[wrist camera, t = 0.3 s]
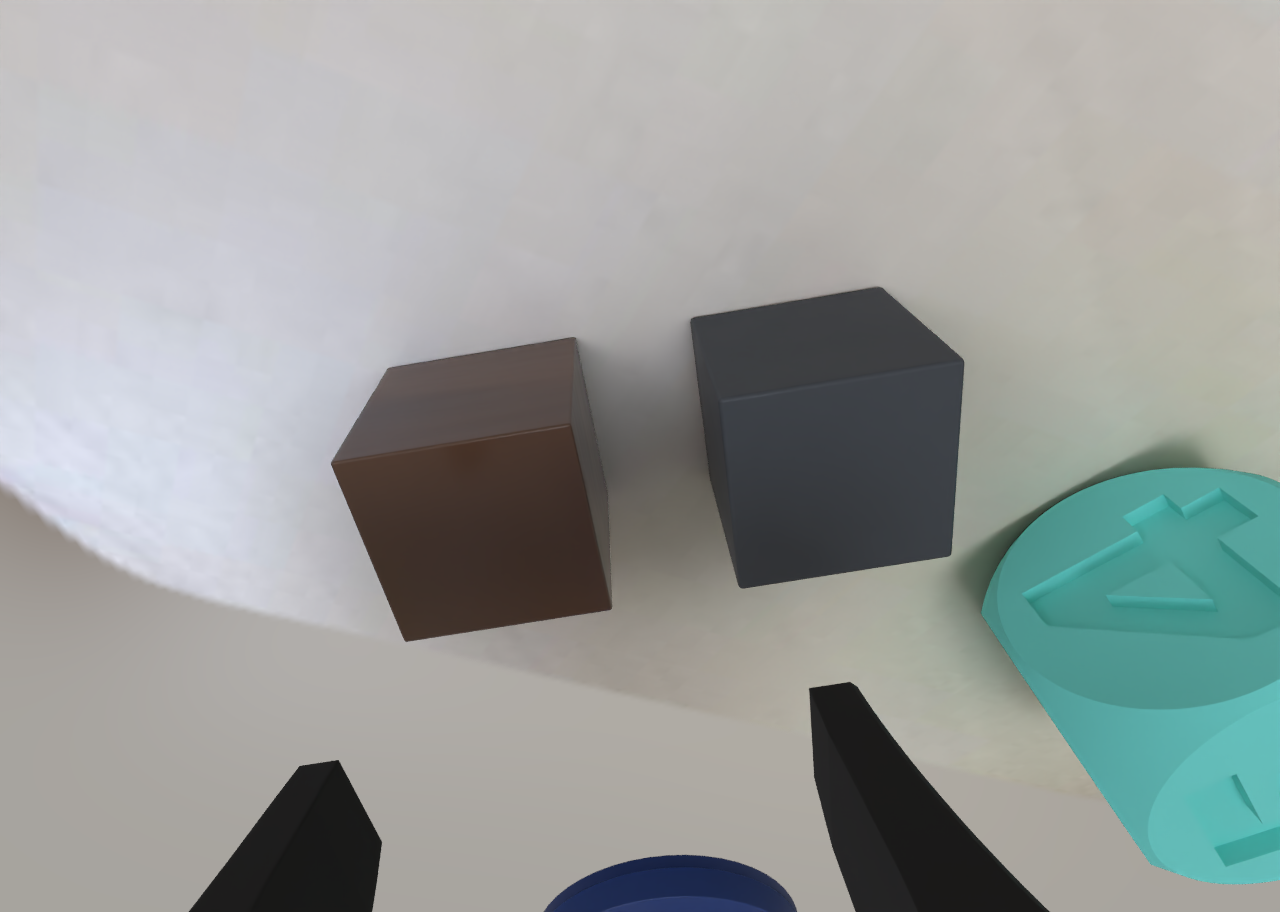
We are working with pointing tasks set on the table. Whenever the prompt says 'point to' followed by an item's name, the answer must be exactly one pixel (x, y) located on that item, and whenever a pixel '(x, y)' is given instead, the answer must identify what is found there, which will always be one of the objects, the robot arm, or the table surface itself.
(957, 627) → the table surface
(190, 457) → the table surface
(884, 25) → the table surface
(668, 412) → the table surface
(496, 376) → the walnut block
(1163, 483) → the decorative dice
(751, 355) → the grey block
